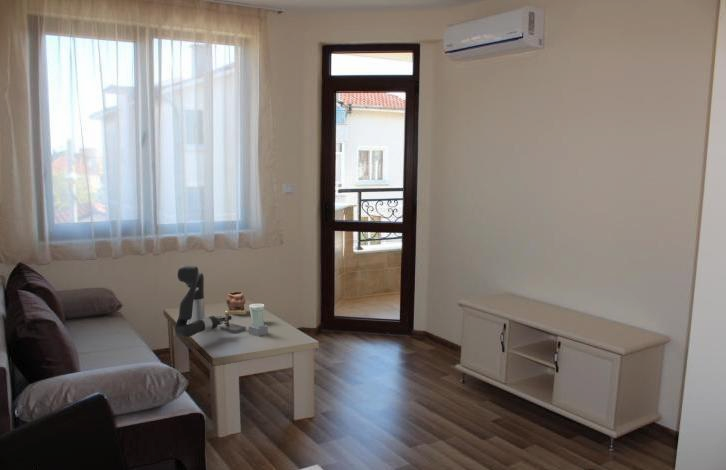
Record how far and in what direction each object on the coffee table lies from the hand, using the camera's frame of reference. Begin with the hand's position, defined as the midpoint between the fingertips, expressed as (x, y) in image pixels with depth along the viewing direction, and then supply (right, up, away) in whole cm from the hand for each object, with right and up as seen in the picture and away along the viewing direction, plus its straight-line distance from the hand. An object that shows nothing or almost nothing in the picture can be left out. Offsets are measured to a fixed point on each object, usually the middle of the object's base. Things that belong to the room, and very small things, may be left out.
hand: (230, 317), depth 369 cm
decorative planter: (-7, -4, +50) cm, 50 cm away
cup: (+11, -7, +27) cm, 30 cm away
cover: (+16, -6, +1) cm, 18 cm away
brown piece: (+1, -6, +12) cm, 14 cm away
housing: (+16, -10, +2) cm, 19 cm away
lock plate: (-1, -9, +10) cm, 13 cm away
